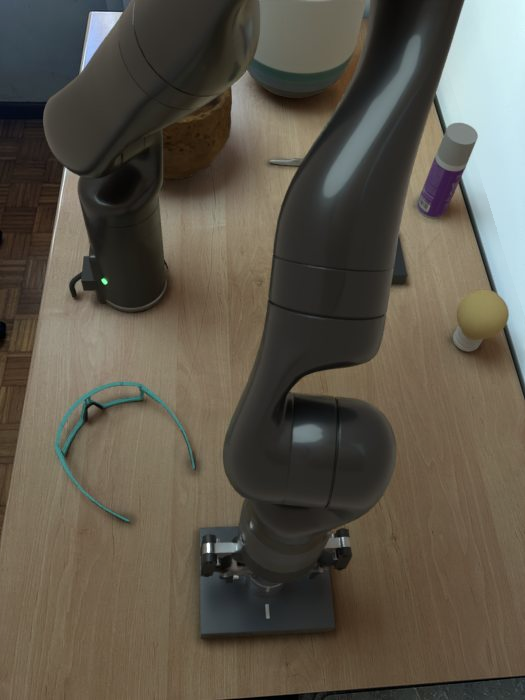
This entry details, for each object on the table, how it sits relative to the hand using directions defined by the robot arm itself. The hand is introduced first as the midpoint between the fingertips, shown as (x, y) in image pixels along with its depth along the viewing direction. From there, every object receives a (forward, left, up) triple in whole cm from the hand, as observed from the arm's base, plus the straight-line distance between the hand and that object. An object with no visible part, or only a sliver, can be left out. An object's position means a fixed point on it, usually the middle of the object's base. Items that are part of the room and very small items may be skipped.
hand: (269, 571), depth 69 cm
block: (+17, +46, -5) cm, 49 cm away
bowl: (-11, +66, -6) cm, 67 cm away
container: (+30, +56, -6) cm, 64 cm away
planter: (+10, +86, -6) cm, 87 cm away
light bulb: (+30, +31, -6) cm, 43 cm away
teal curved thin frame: (-16, +16, -6) cm, 23 cm away
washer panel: (0, 0, -5) cm, 5 cm away
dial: (0, 0, -2) cm, 2 cm away
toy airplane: (+15, +65, -6) cm, 67 cm away
